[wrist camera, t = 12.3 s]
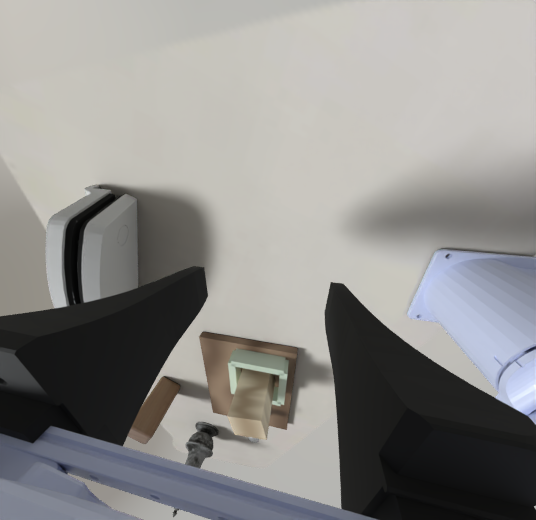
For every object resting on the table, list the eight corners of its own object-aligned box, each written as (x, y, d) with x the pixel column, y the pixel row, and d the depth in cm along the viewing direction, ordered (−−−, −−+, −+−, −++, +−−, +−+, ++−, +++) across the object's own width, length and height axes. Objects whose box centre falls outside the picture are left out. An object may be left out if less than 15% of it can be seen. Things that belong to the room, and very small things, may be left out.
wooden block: (175, 393, 38) (145, 445, 31) (157, 384, 37) (122, 434, 30) (181, 385, 36) (151, 438, 29) (163, 375, 36) (127, 426, 28)
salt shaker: (219, 438, 43) (190, 527, 32) (194, 430, 44) (158, 515, 33) (220, 426, 40) (189, 518, 30) (194, 418, 41) (154, 506, 30)
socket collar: (289, 357, 26) (287, 371, 24) (285, 392, 29) (283, 406, 28) (232, 347, 27) (227, 360, 25) (235, 382, 31) (231, 395, 29)
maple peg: (271, 362, 27) (261, 421, 21) (275, 380, 29) (266, 439, 22) (244, 360, 28) (227, 416, 22) (249, 378, 29) (234, 434, 23)
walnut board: (297, 347, 26) (297, 354, 25) (287, 423, 35) (286, 429, 34) (202, 331, 28) (199, 337, 27) (215, 406, 37) (213, 412, 36)
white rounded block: (94, 180, 21) (-1, 207, 12) (143, 193, 22) (87, 225, 14) (107, 295, 29) (54, 358, 20) (143, 299, 30) (107, 360, 21)
